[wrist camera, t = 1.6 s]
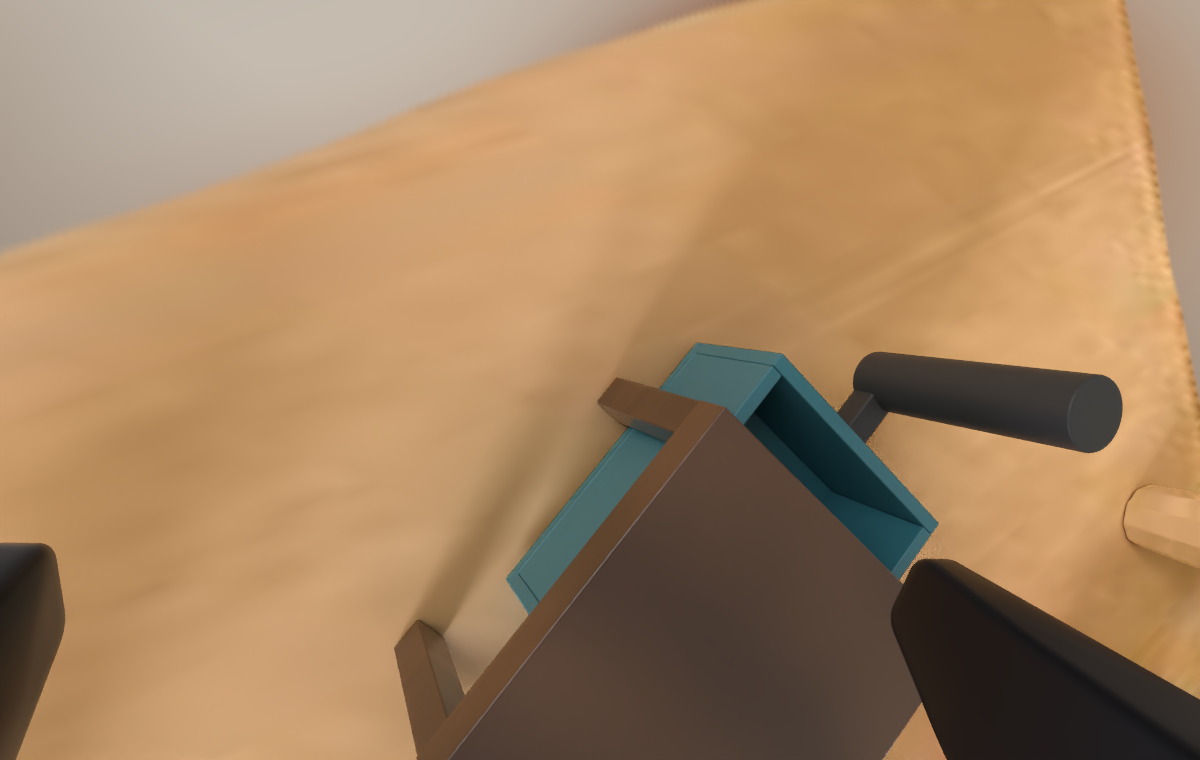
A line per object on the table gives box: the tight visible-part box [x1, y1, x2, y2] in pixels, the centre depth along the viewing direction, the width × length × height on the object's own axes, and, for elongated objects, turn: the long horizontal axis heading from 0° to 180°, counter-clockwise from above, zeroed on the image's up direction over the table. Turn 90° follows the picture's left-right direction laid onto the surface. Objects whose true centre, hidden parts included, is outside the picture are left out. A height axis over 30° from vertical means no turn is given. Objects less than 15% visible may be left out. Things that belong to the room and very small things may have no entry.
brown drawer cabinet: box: [394, 378, 922, 760], centre depth 24 cm, size 12×12×8 cm
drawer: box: [506, 343, 1122, 615], centre depth 23 cm, size 14×9×12 cm, turn 136°
